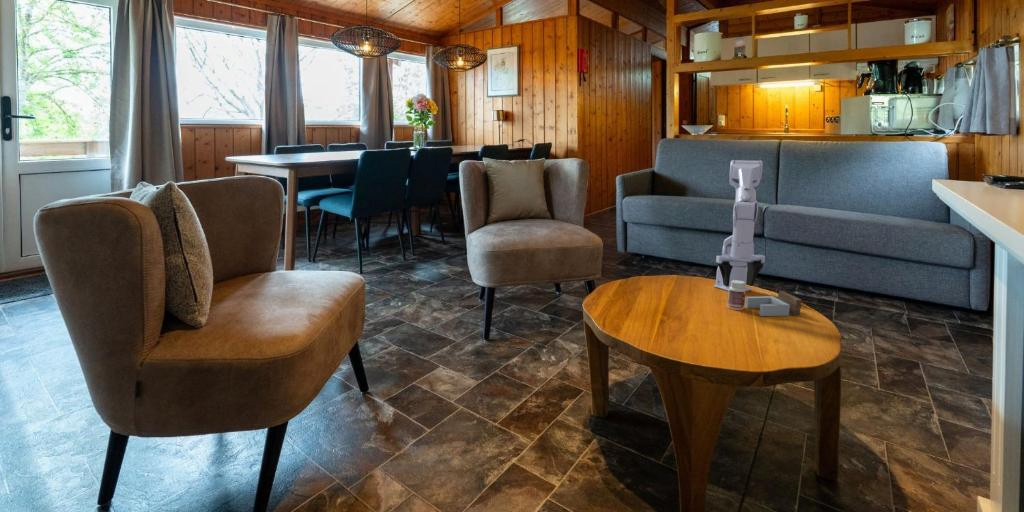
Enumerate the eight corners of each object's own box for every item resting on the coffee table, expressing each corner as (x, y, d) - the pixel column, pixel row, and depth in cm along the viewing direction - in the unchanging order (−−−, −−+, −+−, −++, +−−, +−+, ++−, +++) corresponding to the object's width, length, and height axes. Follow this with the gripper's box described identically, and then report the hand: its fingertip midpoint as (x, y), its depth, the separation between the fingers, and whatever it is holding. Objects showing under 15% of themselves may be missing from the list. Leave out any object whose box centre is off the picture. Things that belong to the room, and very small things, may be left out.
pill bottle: (745, 310, 162) (748, 284, 161) (728, 309, 163) (731, 283, 161) (742, 306, 167) (744, 280, 165) (726, 305, 168) (728, 279, 166)
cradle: (761, 316, 157) (762, 305, 156) (745, 306, 166) (746, 296, 165) (788, 315, 158) (790, 305, 157) (771, 306, 167) (772, 296, 166)
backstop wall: (794, 316, 158) (796, 299, 157) (776, 306, 166) (778, 291, 165) (799, 315, 158) (801, 299, 157) (781, 306, 167) (783, 291, 166)
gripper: (725, 244, 156) (721, 289, 159) (772, 243, 157) (767, 288, 160) (714, 240, 163) (710, 283, 166) (759, 239, 164) (754, 282, 167)
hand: (737, 285), depth 163 cm, fingers open, 7 cm apart
